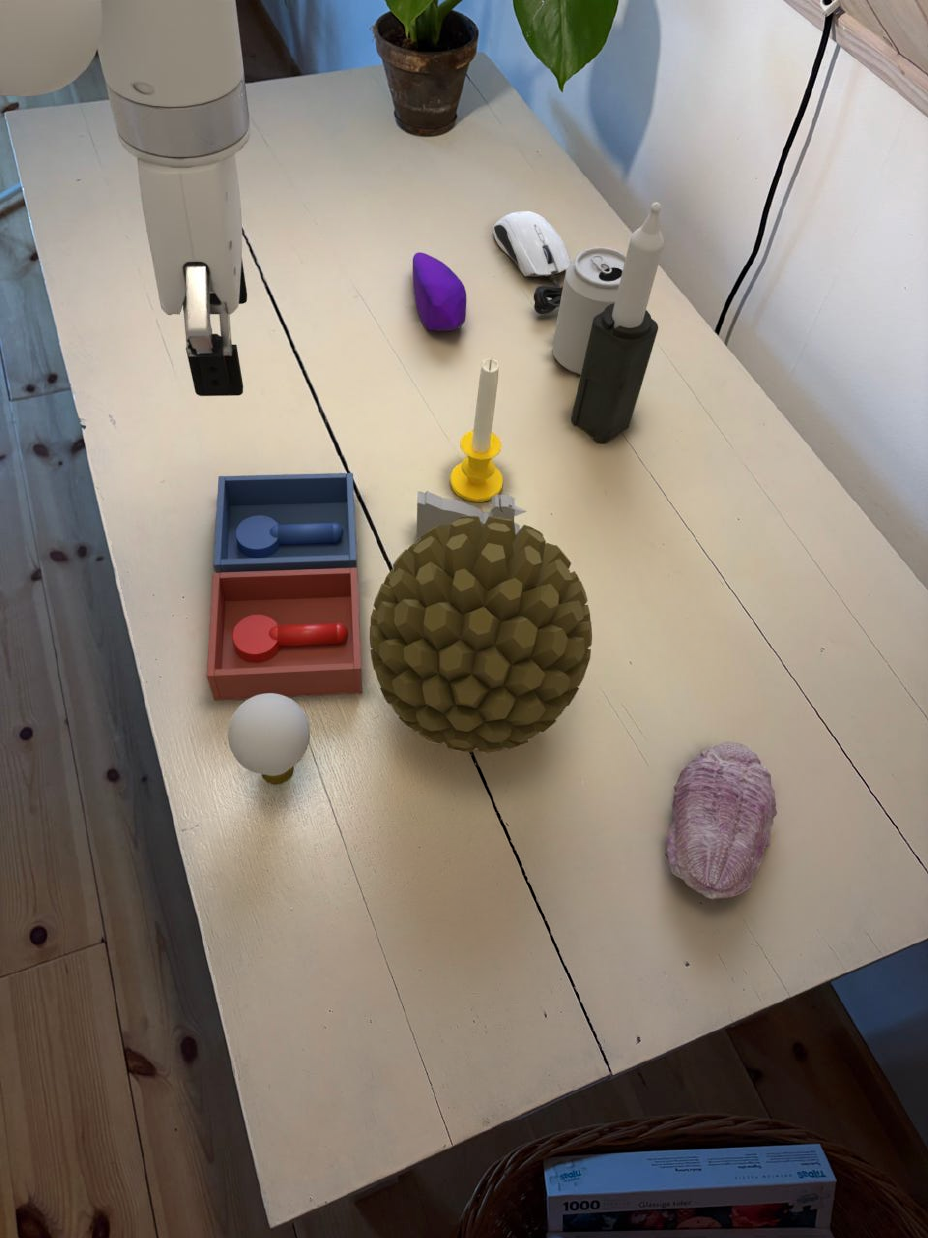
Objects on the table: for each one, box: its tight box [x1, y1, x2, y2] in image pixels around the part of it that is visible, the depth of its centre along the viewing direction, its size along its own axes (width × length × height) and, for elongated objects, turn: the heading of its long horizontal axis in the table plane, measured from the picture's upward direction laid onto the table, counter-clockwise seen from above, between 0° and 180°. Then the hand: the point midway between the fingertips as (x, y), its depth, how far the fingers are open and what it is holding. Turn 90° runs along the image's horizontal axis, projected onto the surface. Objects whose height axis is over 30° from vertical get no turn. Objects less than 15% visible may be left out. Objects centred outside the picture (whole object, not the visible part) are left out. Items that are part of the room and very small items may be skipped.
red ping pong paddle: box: [232, 615, 348, 662], centre depth 80 cm, size 10×4×2 cm, turn 96°
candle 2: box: [570, 201, 665, 444], centre depth 89 cm, size 5×5×25 cm
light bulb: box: [227, 693, 311, 786], centre depth 71 cm, size 6×6×10 cm
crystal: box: [412, 251, 467, 331], centre depth 106 cm, size 5×5×15 cm
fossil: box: [665, 741, 778, 901], centre depth 73 cm, size 8×14×5 cm, turn 159°
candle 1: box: [449, 357, 504, 503], centre depth 87 cm, size 5×5×16 cm
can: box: [551, 246, 627, 376], centre depth 100 cm, size 8×8×12 cm
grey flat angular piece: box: [415, 490, 528, 543], centre depth 87 cm, size 6×1×10 cm
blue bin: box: [212, 472, 358, 573], centre depth 86 cm, size 12×10×4 cm
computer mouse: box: [492, 210, 572, 315], centre depth 111 cm, size 10×18×4 cm, turn 26°
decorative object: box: [369, 516, 593, 754], centre depth 71 cm, size 17×17×20 cm
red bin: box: [206, 567, 363, 701], centre depth 80 cm, size 12×10×4 cm
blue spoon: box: [236, 515, 344, 558], centre depth 86 cm, size 10×4×2 cm, turn 96°
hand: (223, 345), depth 68 cm, fingers open, 9 cm apart
